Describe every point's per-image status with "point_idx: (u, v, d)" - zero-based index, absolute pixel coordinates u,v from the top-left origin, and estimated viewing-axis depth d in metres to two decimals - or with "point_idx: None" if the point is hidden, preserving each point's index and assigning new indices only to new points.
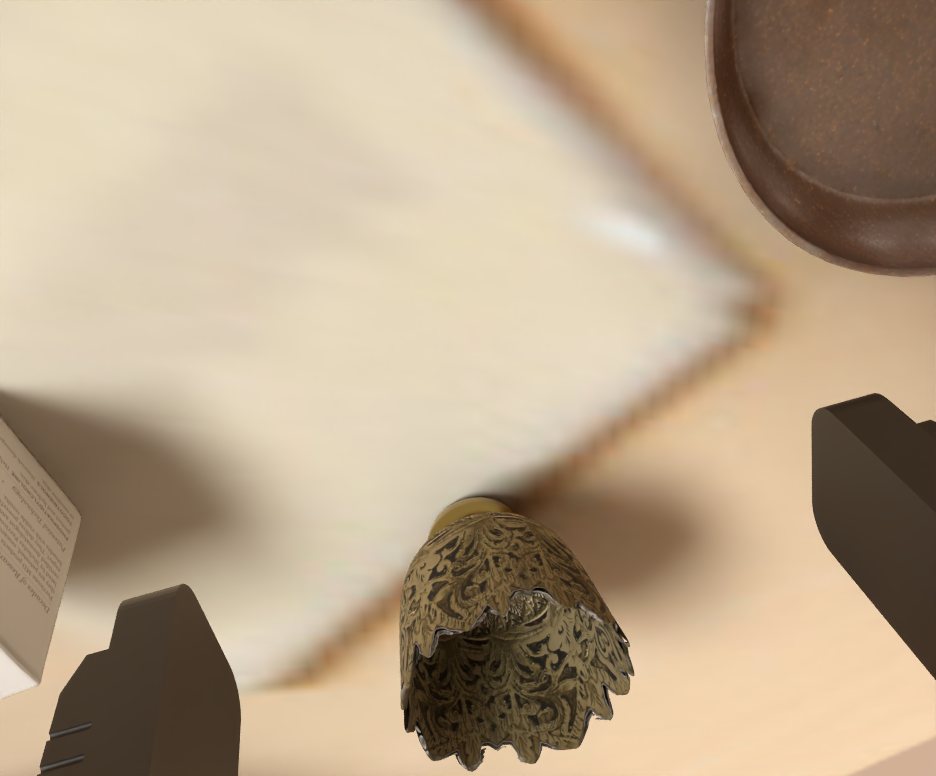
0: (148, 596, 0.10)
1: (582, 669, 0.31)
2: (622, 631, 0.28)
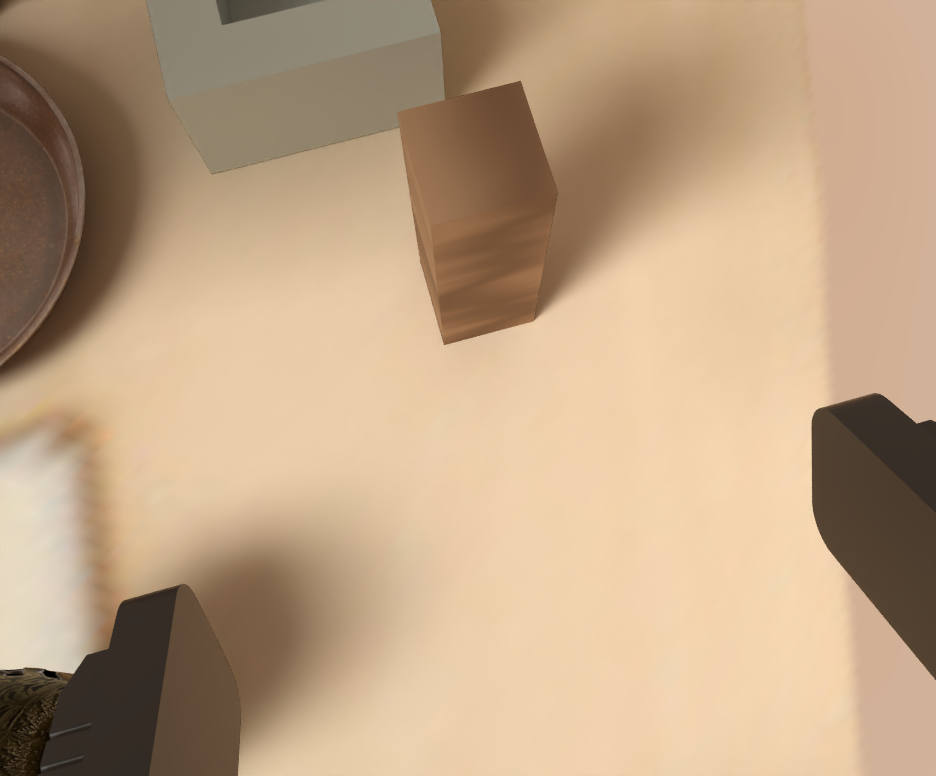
0: (148, 596, 0.10)
1: None
2: None
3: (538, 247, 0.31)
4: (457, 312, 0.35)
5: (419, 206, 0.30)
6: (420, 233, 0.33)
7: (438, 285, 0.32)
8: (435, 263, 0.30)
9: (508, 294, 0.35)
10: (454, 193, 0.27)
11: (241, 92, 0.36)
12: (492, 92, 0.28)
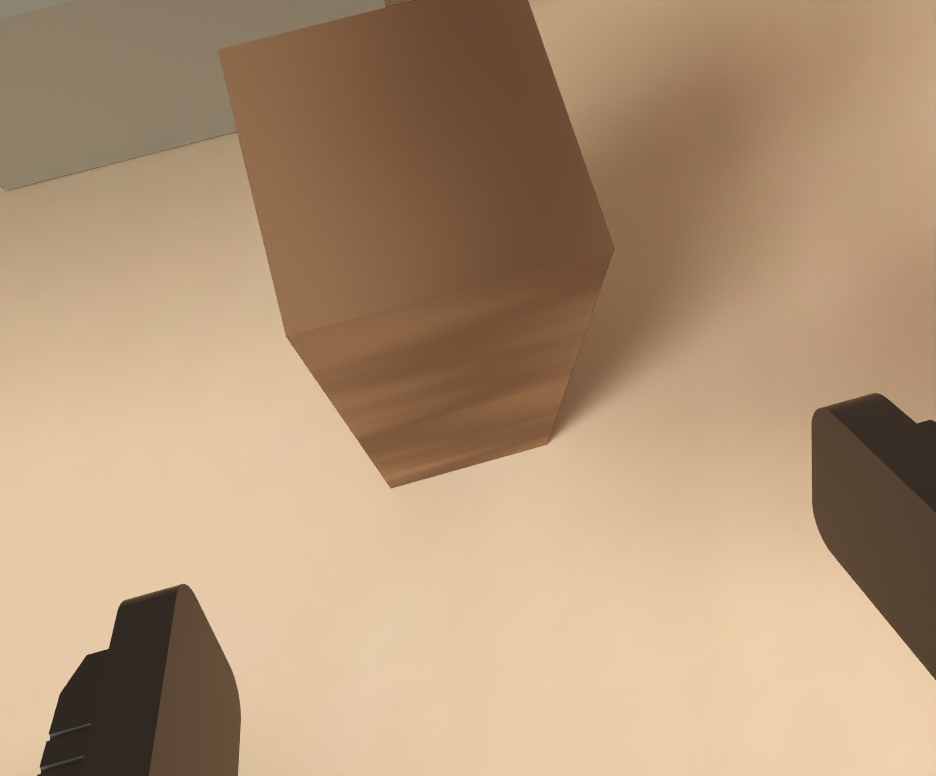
0: (148, 596, 0.10)
1: None
2: None
3: (560, 352, 0.14)
4: (404, 453, 0.19)
5: None
6: None
7: (351, 426, 0.15)
8: (330, 397, 0.13)
9: (500, 421, 0.18)
10: (350, 251, 0.11)
11: (4, 42, 0.19)
12: (450, 1, 0.12)
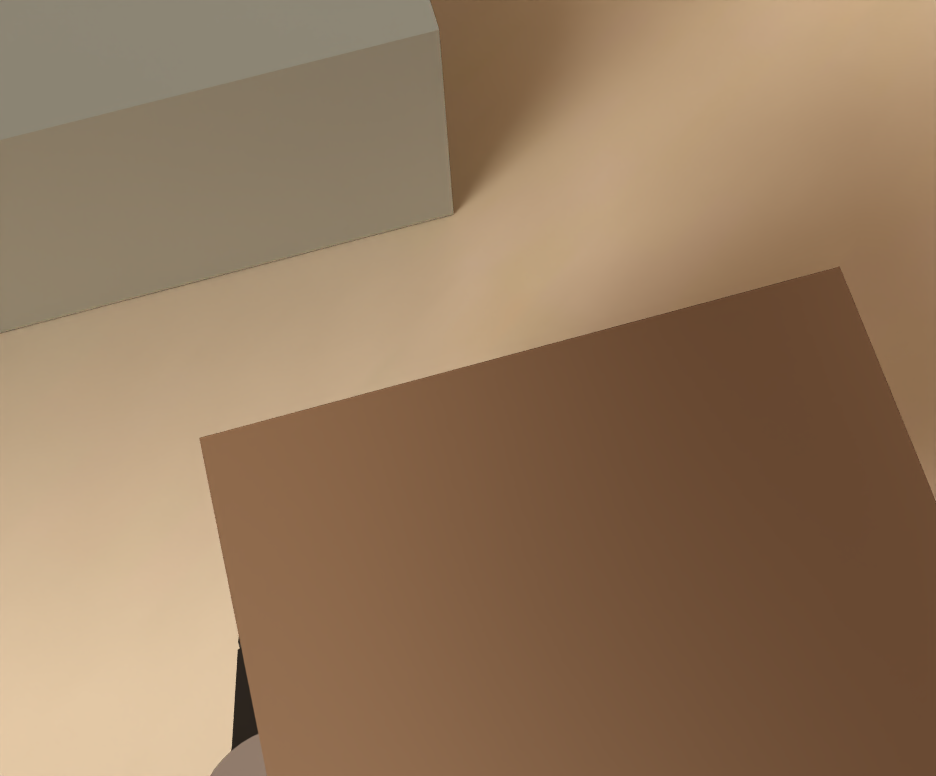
0: None
1: None
2: None
3: None
4: None
5: None
6: None
7: None
8: None
9: None
10: None
11: None
12: (698, 329, 0.05)
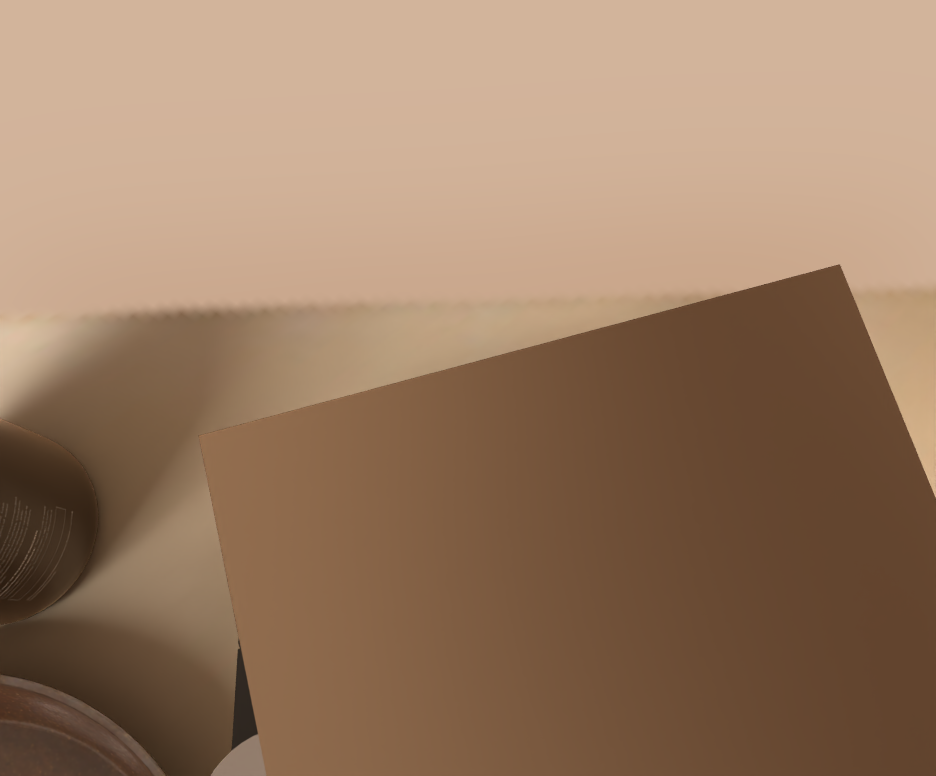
0: None
1: None
2: None
3: None
4: None
5: None
6: None
7: None
8: None
9: None
10: None
11: None
12: (699, 328, 0.05)
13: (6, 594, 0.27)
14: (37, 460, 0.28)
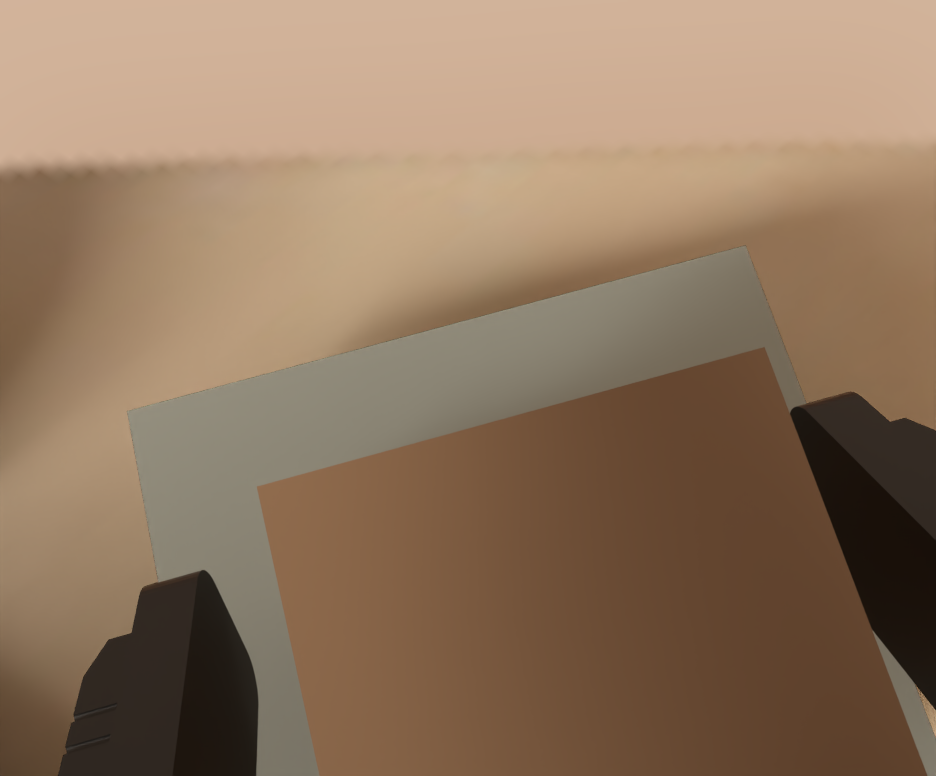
0: (169, 581, 0.10)
1: None
2: None
3: None
4: None
5: None
6: None
7: None
8: None
9: None
10: None
11: None
12: (651, 397, 0.07)
13: None
14: None
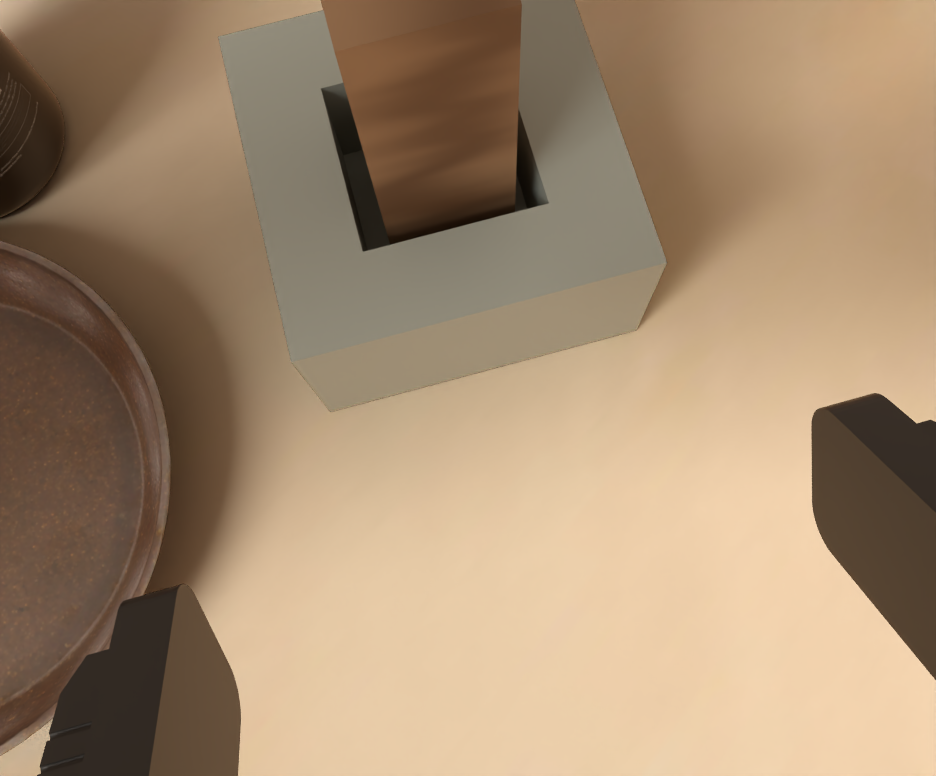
0: (148, 596, 0.10)
1: None
2: None
3: (505, 112, 0.22)
4: (407, 221, 0.27)
5: None
6: None
7: (370, 170, 0.23)
8: (357, 128, 0.21)
9: (473, 195, 0.26)
10: (371, 6, 0.19)
11: (389, 344, 0.26)
12: None
13: None
14: (2, 36, 0.30)
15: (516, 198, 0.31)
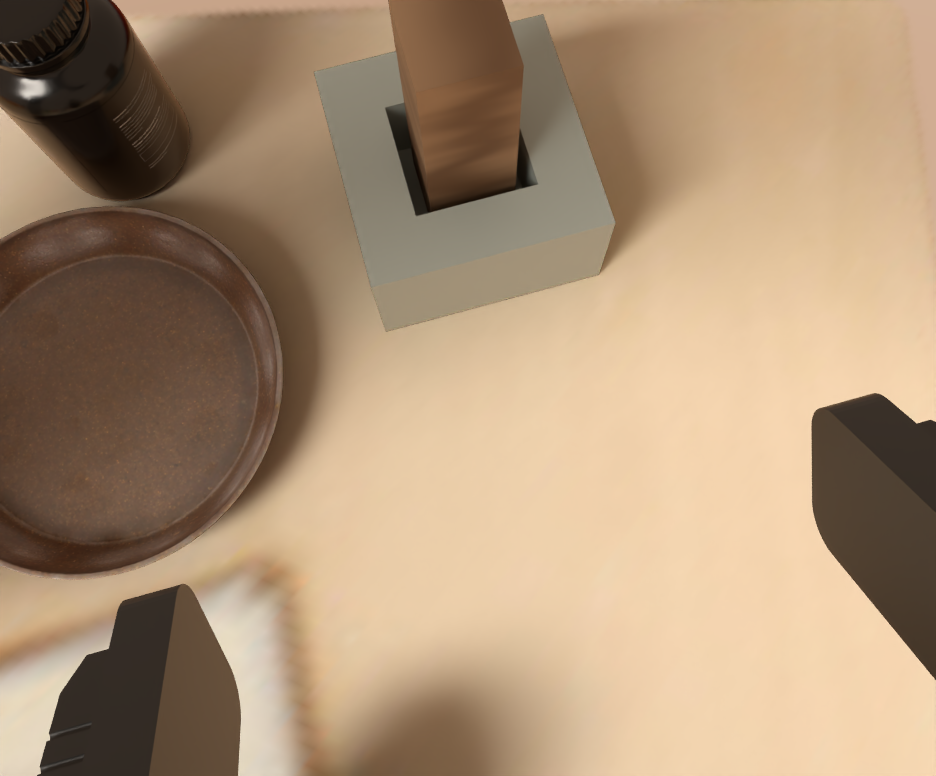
0: (148, 596, 0.10)
1: None
2: None
3: (511, 126, 0.36)
4: (444, 196, 0.40)
5: (408, 86, 0.35)
6: (411, 122, 0.38)
7: (425, 162, 0.37)
8: (422, 136, 0.35)
9: (488, 179, 0.40)
10: (436, 66, 0.32)
11: (433, 277, 0.39)
12: None
13: (139, 148, 0.43)
14: None
15: None
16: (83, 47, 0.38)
